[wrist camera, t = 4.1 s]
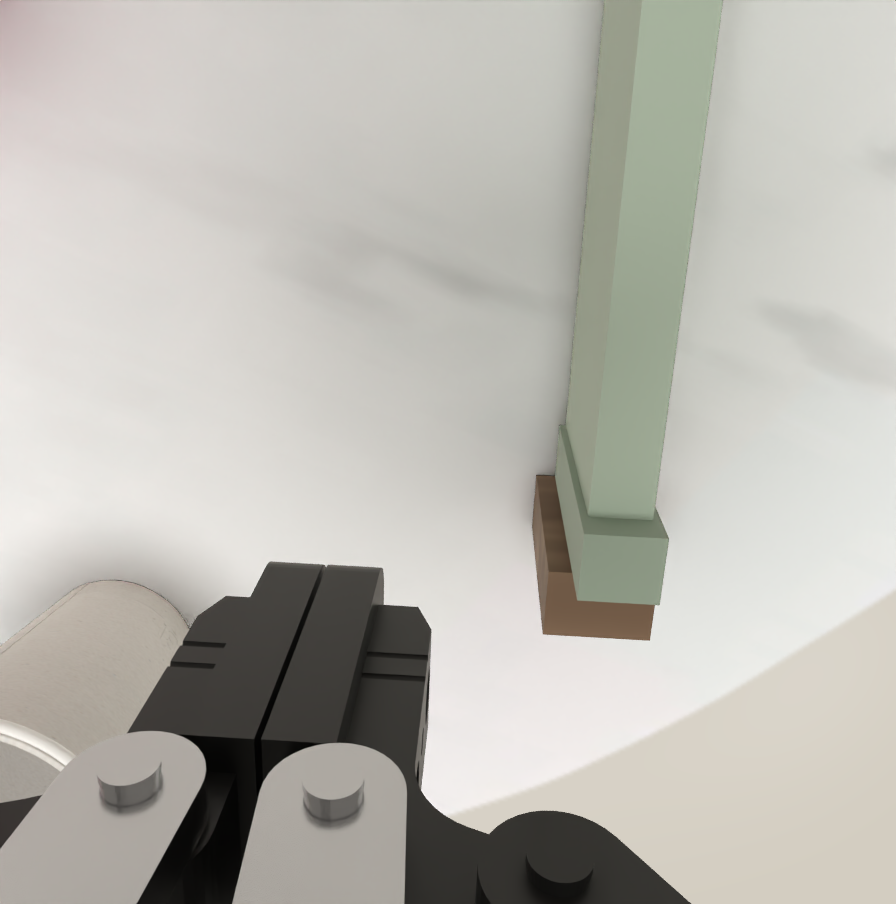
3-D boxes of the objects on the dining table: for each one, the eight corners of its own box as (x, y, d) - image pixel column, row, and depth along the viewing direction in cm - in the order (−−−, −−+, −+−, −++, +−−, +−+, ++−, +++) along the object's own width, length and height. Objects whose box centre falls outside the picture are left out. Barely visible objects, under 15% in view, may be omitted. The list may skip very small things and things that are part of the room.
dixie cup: (77, 752, 35) (-72, 976, 26) (-23, 581, 33) (-229, 762, 23) (262, 703, 34) (175, 921, 25) (173, 521, 32) (38, 688, 22)
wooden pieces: (553, -515, 21) (623, -1253, 10) (802, -511, 21) (1165, -1258, 10) (490, 524, 31) (489, 750, 20) (658, 533, 31) (753, 767, 20)
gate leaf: (622, -297, 21) (694, -527, 14) (704, -295, 21) (820, -525, 14) (555, 476, 29) (577, 600, 21) (615, 479, 28) (659, 604, 21)
